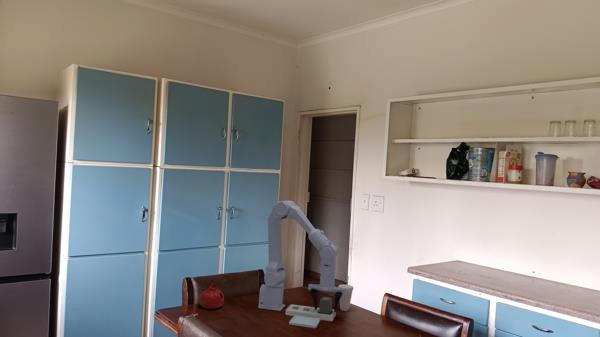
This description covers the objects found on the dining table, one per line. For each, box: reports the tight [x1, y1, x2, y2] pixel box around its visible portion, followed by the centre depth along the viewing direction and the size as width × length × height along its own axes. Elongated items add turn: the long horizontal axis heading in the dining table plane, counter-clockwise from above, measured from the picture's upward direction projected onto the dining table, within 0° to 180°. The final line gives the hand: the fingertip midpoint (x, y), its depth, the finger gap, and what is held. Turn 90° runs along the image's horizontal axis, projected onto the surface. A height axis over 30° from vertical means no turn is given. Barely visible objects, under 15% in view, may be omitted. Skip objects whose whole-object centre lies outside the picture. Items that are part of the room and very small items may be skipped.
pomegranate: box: [199, 283, 225, 310], centre depth 175 cm, size 10×10×9 cm
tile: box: [288, 315, 321, 329], centre depth 163 cm, size 10×9×1 cm
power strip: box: [285, 303, 337, 322], centre depth 173 cm, size 18×9×2 cm, turn 77°
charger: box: [319, 296, 333, 315], centre depth 172 cm, size 4×6×7 cm
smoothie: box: [337, 275, 354, 312], centre depth 183 cm, size 6×6×14 cm
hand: (325, 310), depth 172 cm, fingers open, 7 cm apart
